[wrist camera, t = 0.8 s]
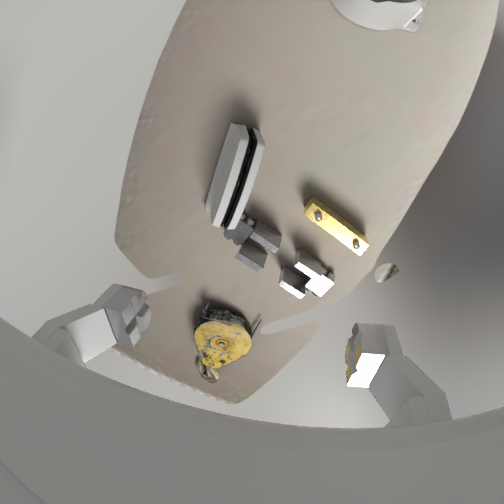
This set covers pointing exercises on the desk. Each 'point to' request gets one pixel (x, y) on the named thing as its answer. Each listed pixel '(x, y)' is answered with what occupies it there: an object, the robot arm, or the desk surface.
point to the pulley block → (220, 341)
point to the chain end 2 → (315, 281)
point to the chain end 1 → (259, 234)
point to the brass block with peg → (335, 225)
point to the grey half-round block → (234, 175)
